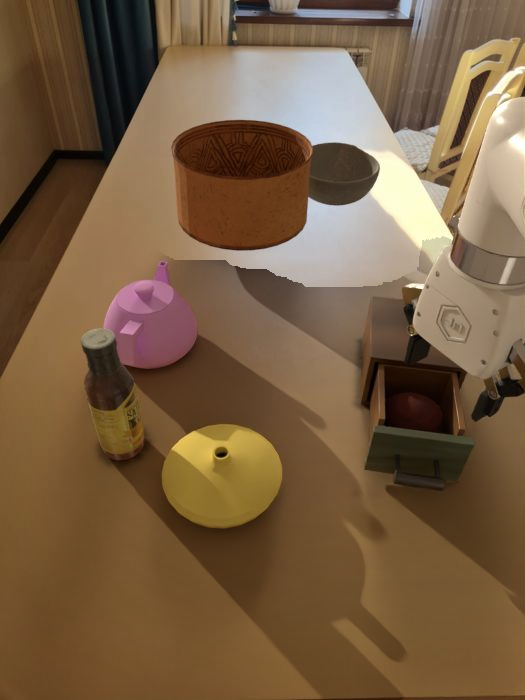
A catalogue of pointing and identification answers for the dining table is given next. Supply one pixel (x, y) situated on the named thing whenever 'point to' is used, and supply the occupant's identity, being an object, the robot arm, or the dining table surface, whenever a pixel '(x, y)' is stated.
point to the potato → (413, 413)
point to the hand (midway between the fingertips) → (447, 386)
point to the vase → (222, 475)
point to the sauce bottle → (112, 397)
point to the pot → (242, 183)
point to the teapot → (151, 322)
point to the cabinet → (393, 344)
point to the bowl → (341, 173)
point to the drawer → (418, 446)
